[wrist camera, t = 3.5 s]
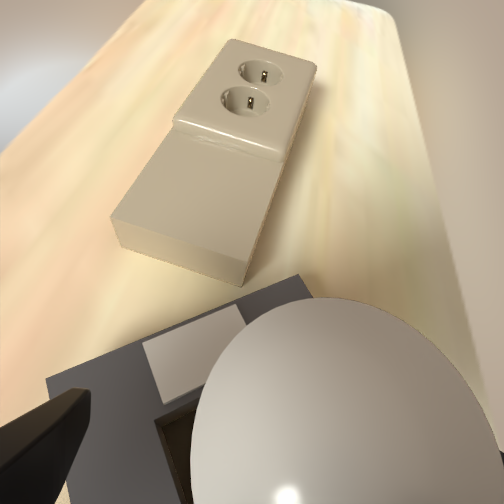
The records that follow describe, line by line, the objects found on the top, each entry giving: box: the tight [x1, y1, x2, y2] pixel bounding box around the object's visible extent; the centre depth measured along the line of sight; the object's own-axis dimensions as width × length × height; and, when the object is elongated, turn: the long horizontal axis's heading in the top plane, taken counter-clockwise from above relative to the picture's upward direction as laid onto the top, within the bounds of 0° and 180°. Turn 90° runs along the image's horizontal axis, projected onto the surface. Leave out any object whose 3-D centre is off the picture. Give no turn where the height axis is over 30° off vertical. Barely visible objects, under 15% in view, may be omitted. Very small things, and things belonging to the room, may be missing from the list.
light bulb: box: [190, 297, 504, 504], centre depth 9 cm, size 4×4×12 cm
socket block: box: [46, 274, 313, 504], centre depth 13 cm, size 11×11×3 cm
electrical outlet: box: [110, 39, 317, 287], centre depth 22 cm, size 7×4×18 cm
